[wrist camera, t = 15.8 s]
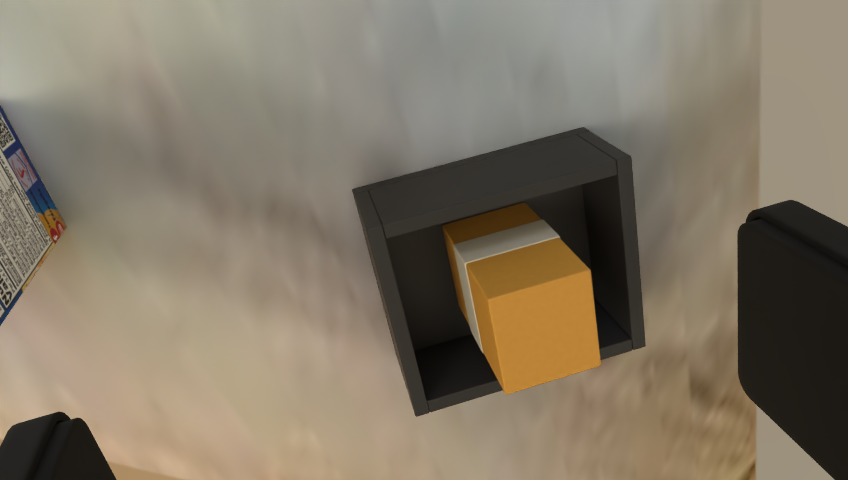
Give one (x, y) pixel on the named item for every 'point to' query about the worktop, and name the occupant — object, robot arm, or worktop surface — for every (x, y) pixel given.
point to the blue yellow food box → (22, 219)
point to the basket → (481, 193)
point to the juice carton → (523, 296)
